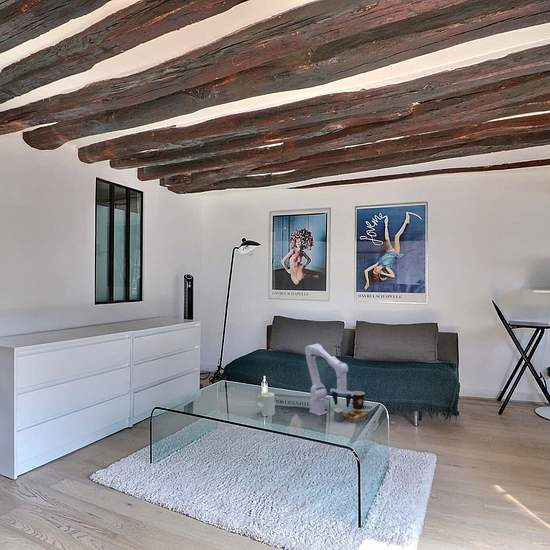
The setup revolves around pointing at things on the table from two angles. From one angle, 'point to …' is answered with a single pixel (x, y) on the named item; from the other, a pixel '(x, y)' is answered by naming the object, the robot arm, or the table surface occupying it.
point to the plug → (338, 414)
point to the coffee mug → (358, 400)
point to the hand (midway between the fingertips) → (341, 405)
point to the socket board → (355, 415)
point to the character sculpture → (267, 403)
